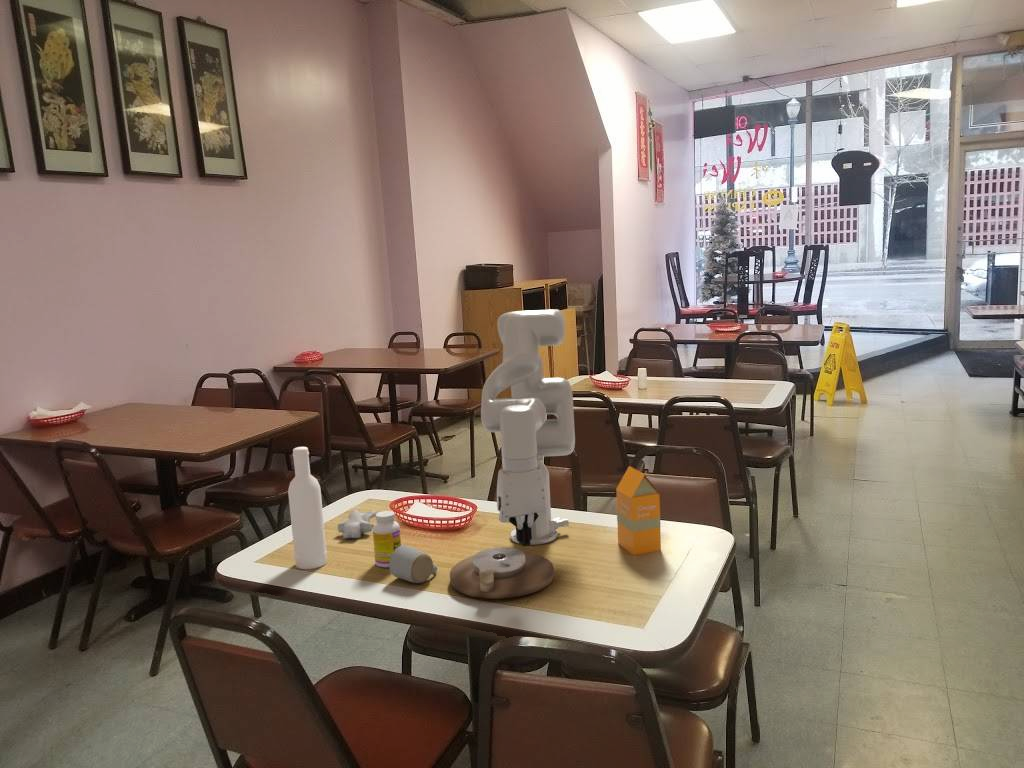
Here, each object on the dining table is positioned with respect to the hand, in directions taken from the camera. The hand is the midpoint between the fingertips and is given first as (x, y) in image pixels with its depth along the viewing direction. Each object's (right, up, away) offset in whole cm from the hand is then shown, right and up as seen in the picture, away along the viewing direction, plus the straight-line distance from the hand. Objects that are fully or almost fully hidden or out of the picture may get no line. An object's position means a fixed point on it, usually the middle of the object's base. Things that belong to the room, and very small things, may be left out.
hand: (524, 543), depth 169 cm
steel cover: (-6, -8, +10) cm, 14 cm away
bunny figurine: (-46, -7, +49) cm, 68 cm away
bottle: (-53, -11, +27) cm, 61 cm away
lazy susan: (-5, -11, +10) cm, 15 cm away
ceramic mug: (-25, -11, +14) cm, 31 cm away
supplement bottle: (-33, -10, +24) cm, 42 cm away
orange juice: (+29, -6, +26) cm, 40 cm away
